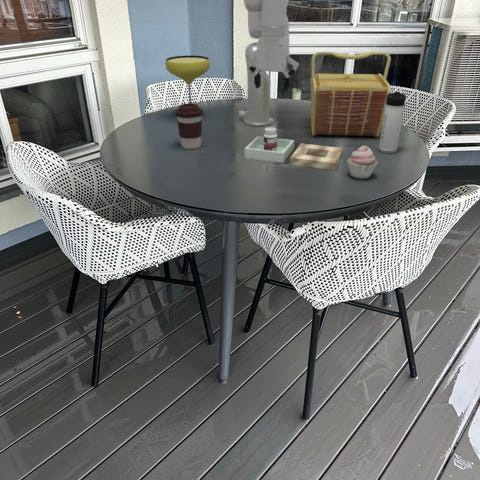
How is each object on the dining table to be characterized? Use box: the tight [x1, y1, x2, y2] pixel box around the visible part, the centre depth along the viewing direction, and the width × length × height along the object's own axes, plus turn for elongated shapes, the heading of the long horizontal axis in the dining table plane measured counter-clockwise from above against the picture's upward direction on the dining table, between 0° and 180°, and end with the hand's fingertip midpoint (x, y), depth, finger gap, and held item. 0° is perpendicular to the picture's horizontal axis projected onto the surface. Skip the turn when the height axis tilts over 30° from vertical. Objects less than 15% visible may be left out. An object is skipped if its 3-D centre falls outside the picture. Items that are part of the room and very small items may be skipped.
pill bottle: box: [263, 126, 278, 152], centre depth 158 cm, size 5×5×8 cm
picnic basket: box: [310, 50, 392, 138], centre depth 175 cm, size 29×26×30 cm
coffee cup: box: [174, 102, 204, 150], centre depth 164 cm, size 10×10×15 cm
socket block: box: [289, 143, 344, 171], centre depth 155 cm, size 15×15×2 cm
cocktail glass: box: [165, 55, 211, 119], centre depth 191 cm, size 18×18×25 cm
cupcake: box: [346, 145, 378, 180], centre depth 141 cm, size 9×9×10 cm
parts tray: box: [244, 135, 295, 164], centre depth 160 cm, size 14×14×4 cm
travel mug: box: [378, 91, 407, 155], centre depth 157 cm, size 6×7×20 cm
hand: (271, 88), depth 150 cm, fingers open, 9 cm apart
